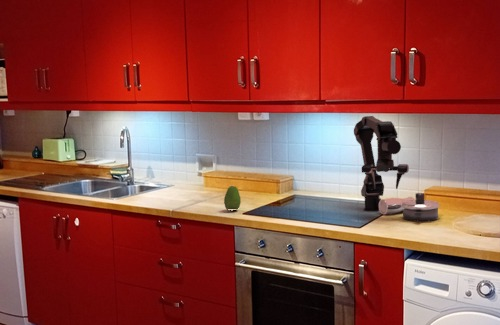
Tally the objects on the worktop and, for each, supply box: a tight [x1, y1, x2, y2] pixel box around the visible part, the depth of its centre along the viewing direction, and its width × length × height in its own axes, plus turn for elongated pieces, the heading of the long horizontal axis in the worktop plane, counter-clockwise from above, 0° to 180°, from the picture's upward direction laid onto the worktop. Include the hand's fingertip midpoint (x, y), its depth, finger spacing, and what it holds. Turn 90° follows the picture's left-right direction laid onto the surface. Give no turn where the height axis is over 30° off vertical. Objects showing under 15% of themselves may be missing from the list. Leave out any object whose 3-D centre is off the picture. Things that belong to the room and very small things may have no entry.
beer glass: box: [379, 196, 416, 216], centre depth 257 cm, size 7×7×15 cm
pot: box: [402, 207, 439, 223], centre depth 243 cm, size 14×18×5 cm
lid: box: [401, 192, 440, 210], centre depth 244 cm, size 15×15×5 cm
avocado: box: [223, 185, 242, 210], centre depth 277 cm, size 8×8×12 cm
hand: (385, 188), depth 248 cm, fingers open, 9 cm apart
